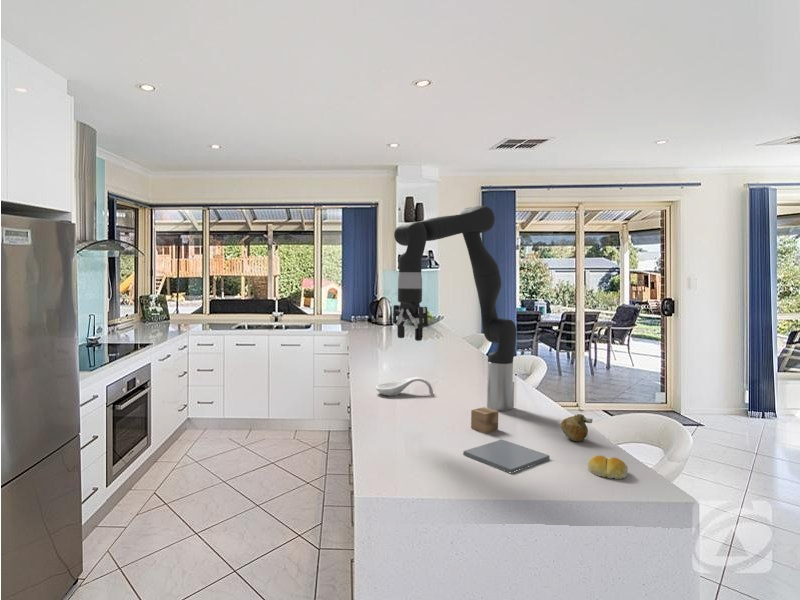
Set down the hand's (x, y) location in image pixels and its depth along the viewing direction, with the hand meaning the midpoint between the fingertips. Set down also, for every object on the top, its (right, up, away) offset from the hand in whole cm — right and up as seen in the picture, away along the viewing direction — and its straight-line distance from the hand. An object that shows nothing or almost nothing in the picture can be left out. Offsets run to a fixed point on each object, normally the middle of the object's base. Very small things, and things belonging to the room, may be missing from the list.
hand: (409, 339), depth 150 cm
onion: (+49, -30, -6) cm, 58 cm away
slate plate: (+25, -30, -21) cm, 44 cm away
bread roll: (+49, -31, -31) cm, 65 cm away
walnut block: (+24, -29, +3) cm, 38 cm away
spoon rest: (-1, -27, +49) cm, 56 cm away
